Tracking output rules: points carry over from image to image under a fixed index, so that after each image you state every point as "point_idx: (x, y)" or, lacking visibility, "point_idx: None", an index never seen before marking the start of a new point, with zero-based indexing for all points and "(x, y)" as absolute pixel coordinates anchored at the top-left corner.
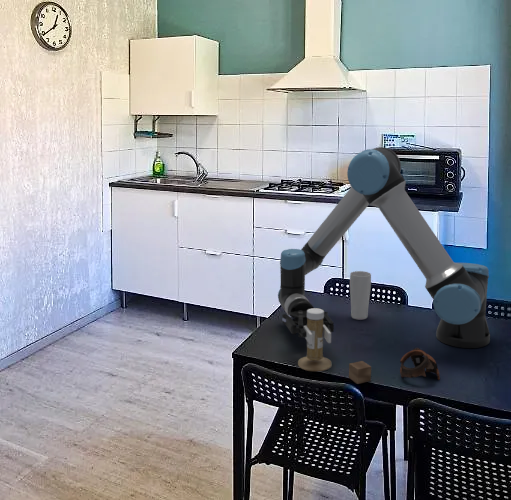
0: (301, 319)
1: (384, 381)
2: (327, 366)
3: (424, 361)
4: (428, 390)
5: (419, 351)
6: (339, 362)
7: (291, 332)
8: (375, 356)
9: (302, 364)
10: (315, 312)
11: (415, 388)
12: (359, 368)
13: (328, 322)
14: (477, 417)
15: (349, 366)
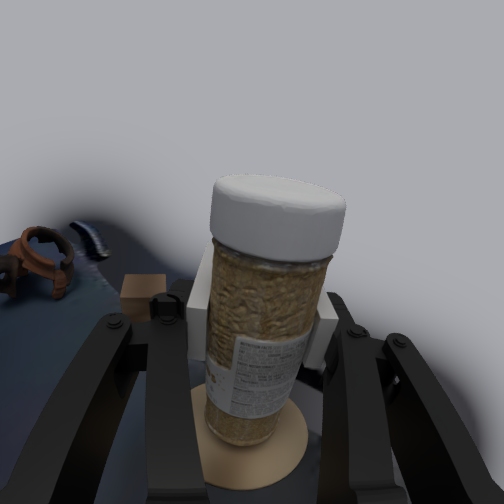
0: (363, 447)
1: (105, 298)
2: (202, 387)
3: (50, 229)
4: (73, 262)
5: (27, 233)
6: (134, 419)
7: (393, 384)
8: (6, 393)
9: (292, 420)
10: (286, 178)
11: (82, 269)
12: (158, 276)
13: (121, 347)
14: (92, 226)
15: None
